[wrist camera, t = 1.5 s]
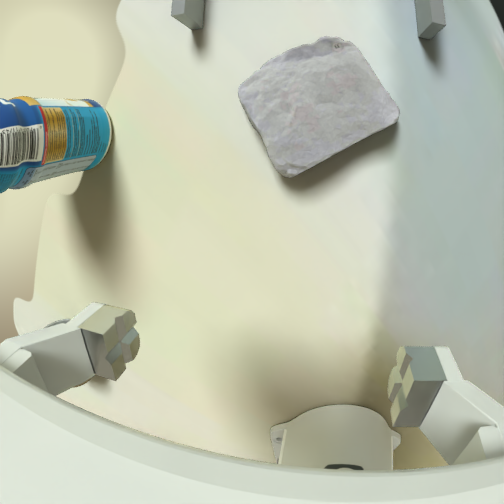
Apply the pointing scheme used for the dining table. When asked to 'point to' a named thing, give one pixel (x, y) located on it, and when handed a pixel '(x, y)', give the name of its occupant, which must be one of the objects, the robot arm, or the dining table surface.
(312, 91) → the stone block
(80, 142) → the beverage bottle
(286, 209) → the dining table surface
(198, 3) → the box
